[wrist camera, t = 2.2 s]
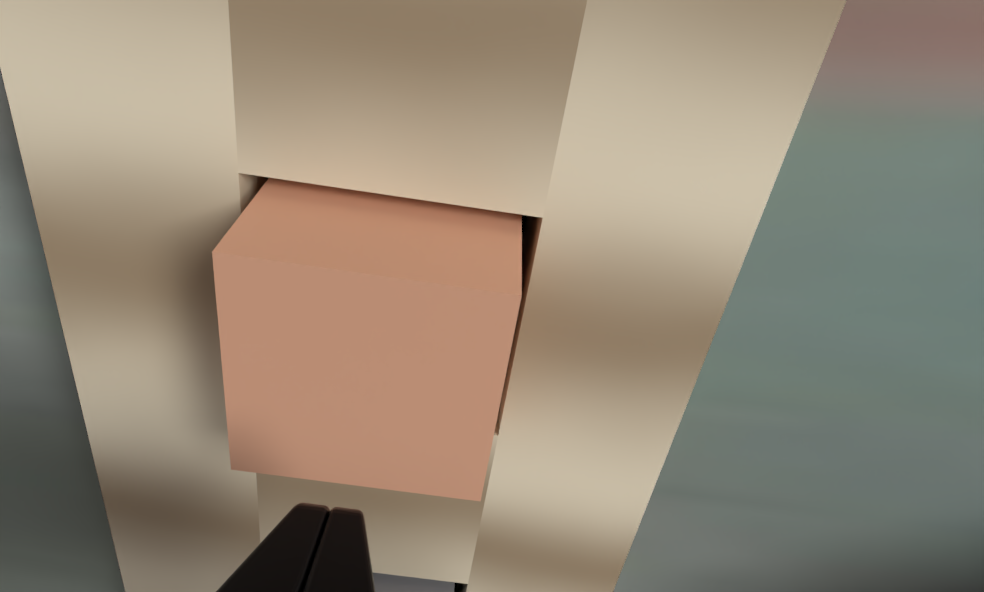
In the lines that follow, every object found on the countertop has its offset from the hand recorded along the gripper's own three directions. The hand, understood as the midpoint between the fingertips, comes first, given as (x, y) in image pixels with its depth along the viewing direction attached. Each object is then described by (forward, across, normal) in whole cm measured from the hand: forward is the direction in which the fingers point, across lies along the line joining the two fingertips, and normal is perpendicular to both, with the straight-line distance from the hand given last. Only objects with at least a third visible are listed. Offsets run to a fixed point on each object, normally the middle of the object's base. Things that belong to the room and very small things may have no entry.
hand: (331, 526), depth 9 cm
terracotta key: (+6, 0, 0) cm, 6 cm away
